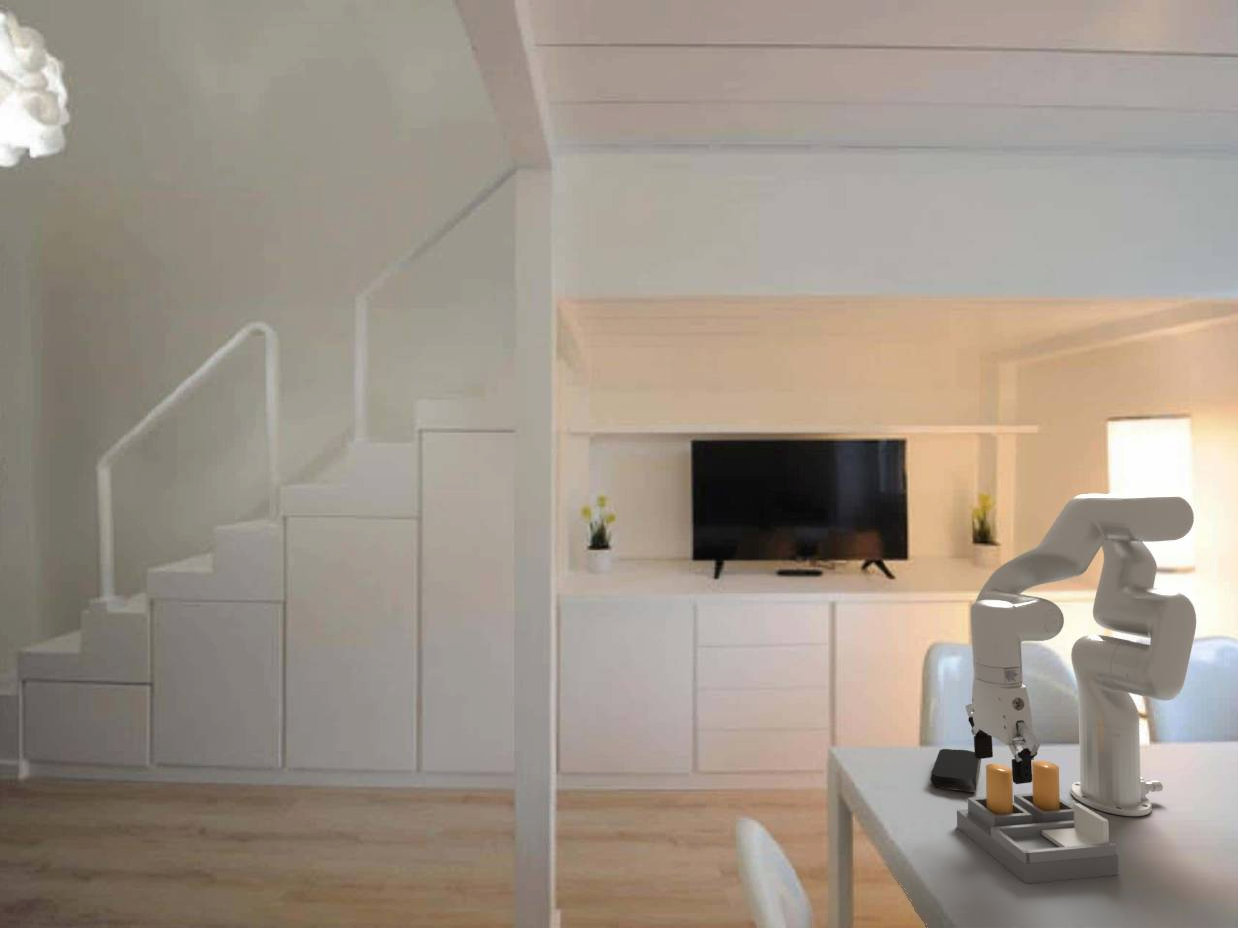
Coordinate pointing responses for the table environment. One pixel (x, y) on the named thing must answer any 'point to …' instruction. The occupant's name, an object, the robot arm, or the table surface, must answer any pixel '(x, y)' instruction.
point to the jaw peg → (999, 789)
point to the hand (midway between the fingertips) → (1002, 769)
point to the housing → (1036, 834)
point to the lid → (1081, 829)
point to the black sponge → (956, 770)
